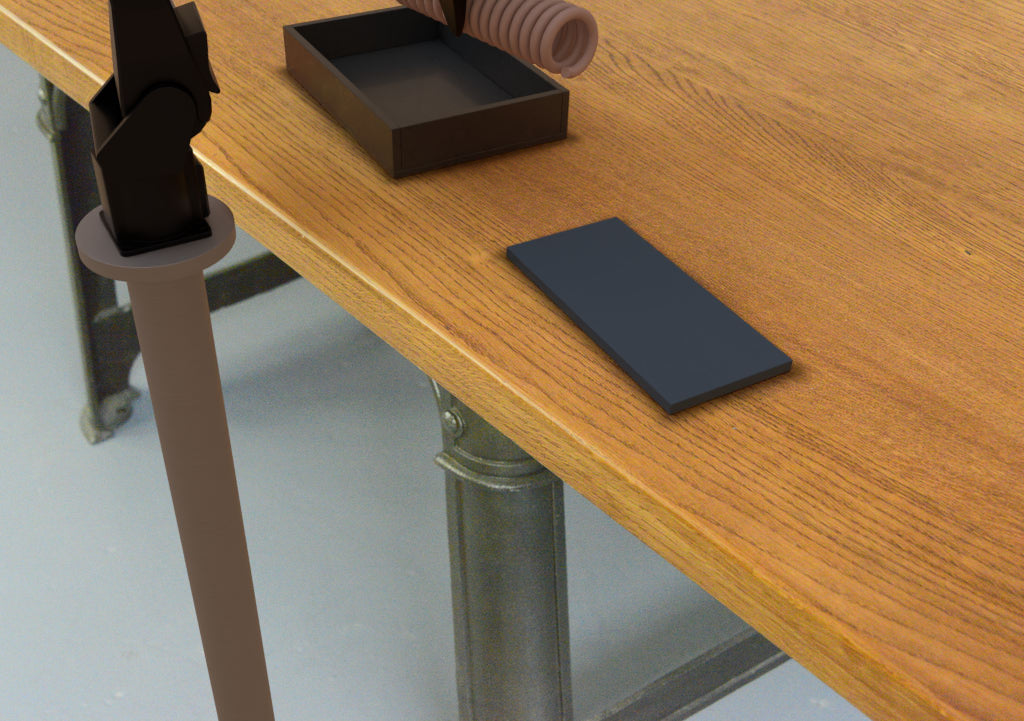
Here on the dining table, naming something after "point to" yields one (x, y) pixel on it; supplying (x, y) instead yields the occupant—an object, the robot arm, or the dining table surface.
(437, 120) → the dark brown tray
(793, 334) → the dining table surface
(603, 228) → the pad
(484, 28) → the coil
